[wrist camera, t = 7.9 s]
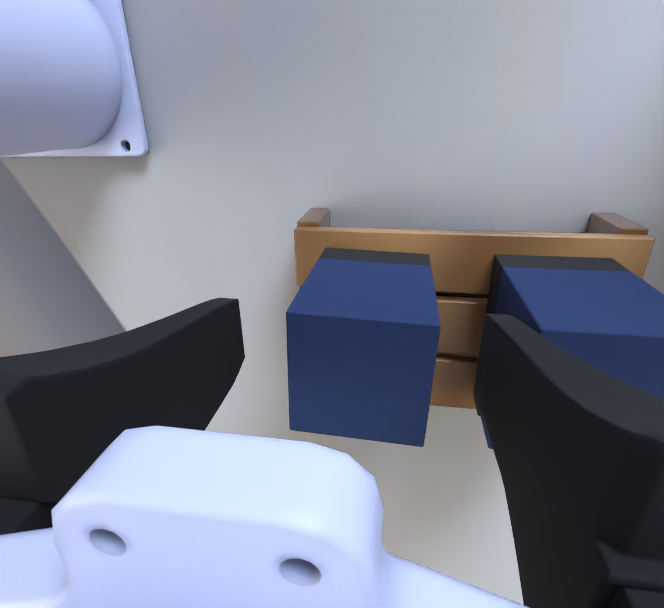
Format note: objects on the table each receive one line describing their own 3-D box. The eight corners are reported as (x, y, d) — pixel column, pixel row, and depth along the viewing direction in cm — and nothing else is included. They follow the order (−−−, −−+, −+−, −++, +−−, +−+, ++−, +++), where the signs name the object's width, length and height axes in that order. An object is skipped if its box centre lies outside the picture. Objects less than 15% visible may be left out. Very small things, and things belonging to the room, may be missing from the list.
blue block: (325, 246, 18) (285, 311, 12) (429, 253, 17) (440, 325, 11) (323, 381, 21) (291, 486, 15) (412, 392, 20) (415, 504, 14)
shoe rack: (316, 361, 25) (302, 397, 21) (310, 208, 21) (293, 224, 18) (571, 380, 22) (597, 423, 19) (615, 212, 19) (657, 233, 16)
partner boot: (494, 254, 17) (540, 328, 11) (612, 257, 16) (728, 339, 10) (472, 395, 20) (500, 514, 14) (572, 403, 19) (645, 531, 13)
